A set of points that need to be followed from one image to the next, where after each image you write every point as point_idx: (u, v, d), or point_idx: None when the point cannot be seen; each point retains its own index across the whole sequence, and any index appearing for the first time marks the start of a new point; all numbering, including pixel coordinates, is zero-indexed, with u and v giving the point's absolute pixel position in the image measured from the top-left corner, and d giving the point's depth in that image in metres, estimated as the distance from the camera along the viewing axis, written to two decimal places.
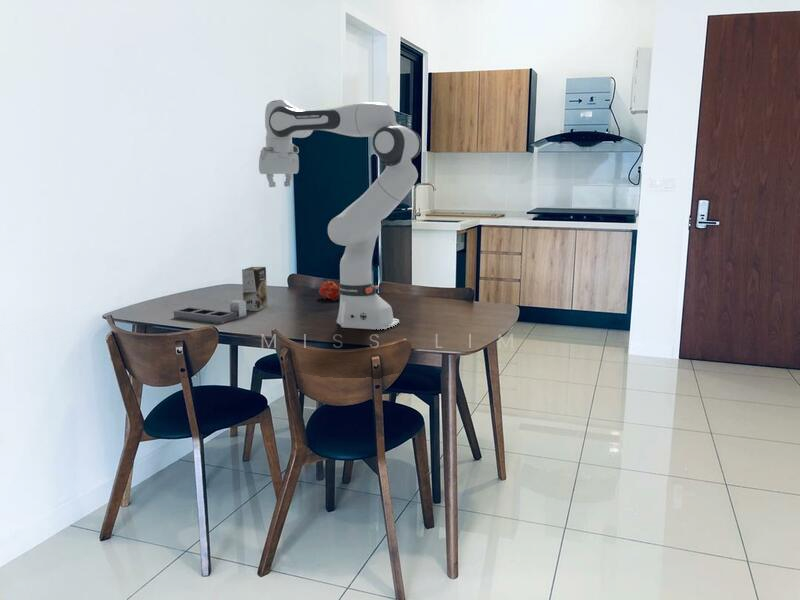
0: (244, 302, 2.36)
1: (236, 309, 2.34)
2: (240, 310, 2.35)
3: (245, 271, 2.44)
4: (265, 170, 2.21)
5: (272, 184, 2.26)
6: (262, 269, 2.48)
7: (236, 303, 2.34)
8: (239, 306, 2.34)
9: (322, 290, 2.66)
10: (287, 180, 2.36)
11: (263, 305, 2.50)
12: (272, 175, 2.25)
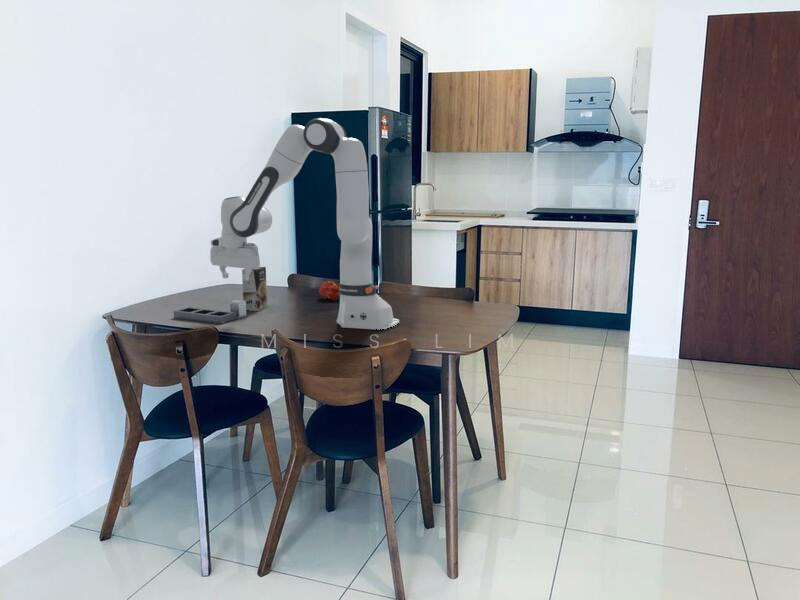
0: (244, 302, 2.36)
1: (236, 309, 2.34)
2: (240, 310, 2.35)
3: (245, 271, 2.44)
4: (259, 265, 2.30)
5: (248, 277, 2.32)
6: (262, 269, 2.48)
7: (236, 303, 2.34)
8: (239, 306, 2.34)
9: (322, 290, 2.66)
10: (224, 272, 2.36)
11: (263, 305, 2.50)
12: None
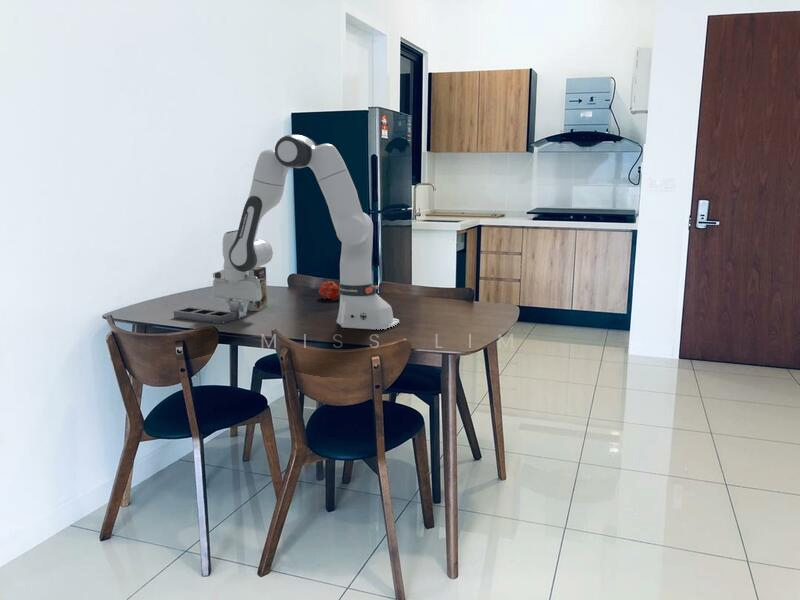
0: None
1: (236, 309, 2.34)
2: (240, 309, 2.35)
3: None
4: (261, 297, 2.32)
5: (246, 308, 2.35)
6: (262, 269, 2.48)
7: (236, 303, 2.34)
8: (239, 306, 2.34)
9: (322, 290, 2.66)
10: None
11: (263, 305, 2.50)
12: None
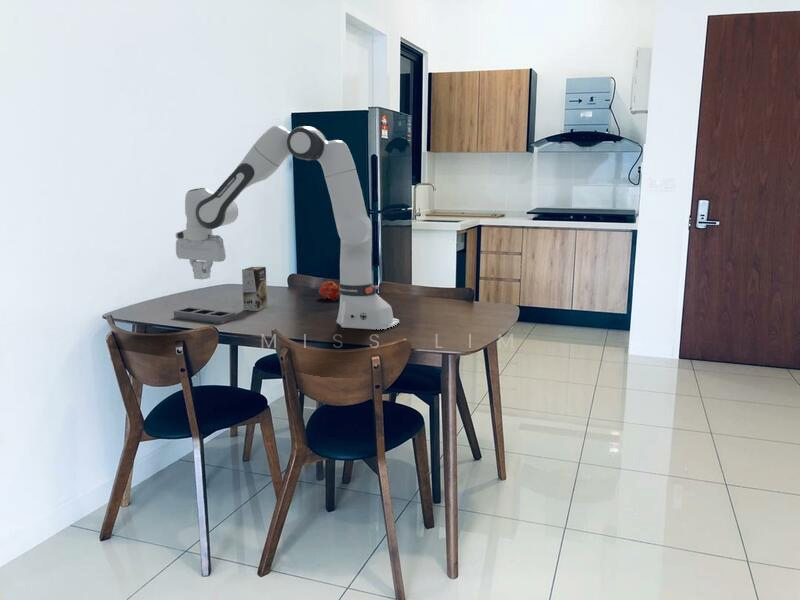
0: None
1: (200, 270, 2.28)
2: (203, 271, 2.28)
3: (245, 271, 2.44)
4: (224, 257, 2.26)
5: (210, 270, 2.29)
6: (262, 269, 2.48)
7: (199, 264, 2.27)
8: (202, 267, 2.28)
9: (322, 290, 2.66)
10: None
11: (263, 305, 2.50)
12: None
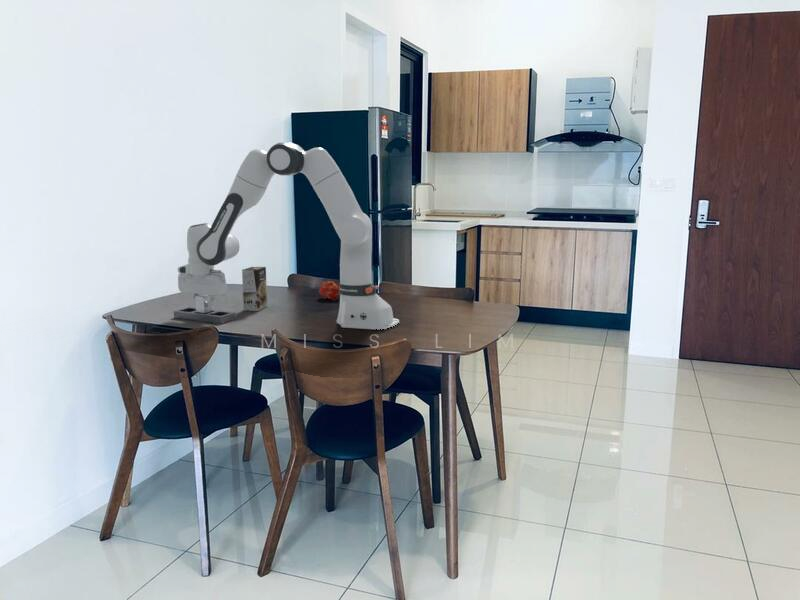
0: None
1: (202, 304, 2.30)
2: (205, 305, 2.31)
3: (245, 271, 2.44)
4: (226, 292, 2.28)
5: (211, 304, 2.32)
6: (262, 269, 2.48)
7: (201, 298, 2.30)
8: (204, 301, 2.30)
9: (322, 290, 2.66)
10: None
11: (263, 305, 2.50)
12: None
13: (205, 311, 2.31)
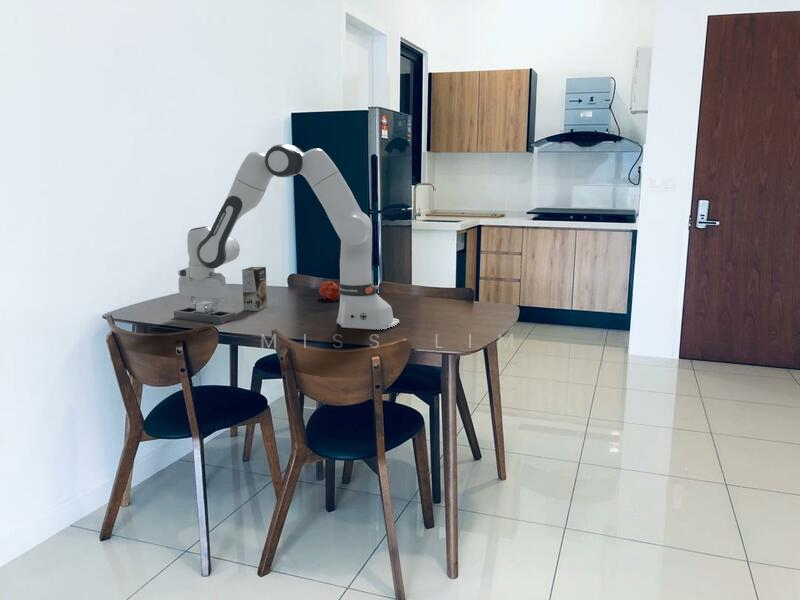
0: (210, 304, 2.33)
1: (202, 311, 2.31)
2: (206, 312, 2.31)
3: (245, 271, 2.44)
4: (227, 295, 2.29)
5: (216, 307, 2.31)
6: (262, 269, 2.48)
7: (202, 305, 2.30)
8: (205, 308, 2.31)
9: (322, 290, 2.66)
10: (193, 302, 2.35)
11: (263, 305, 2.50)
12: None
13: None
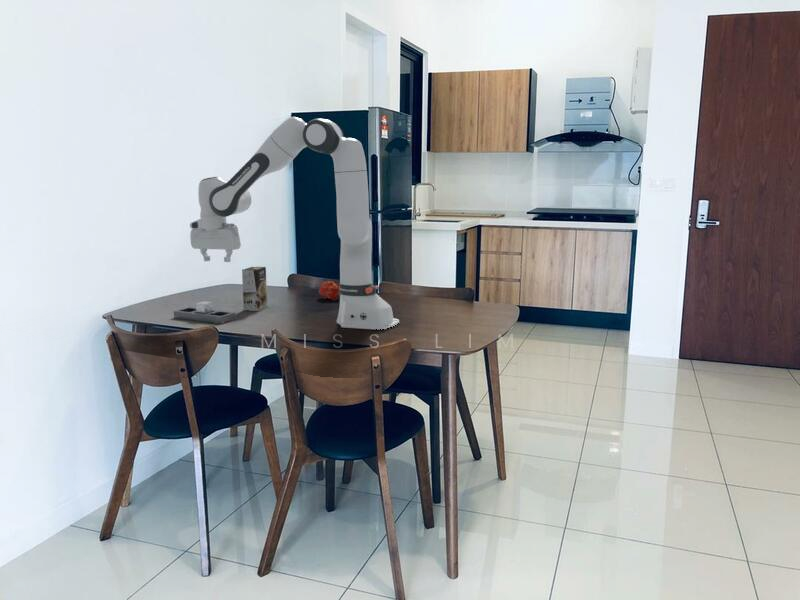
0: (210, 304, 2.33)
1: (202, 311, 2.31)
2: (206, 312, 2.31)
3: (245, 271, 2.44)
4: (240, 245, 2.27)
5: (229, 259, 2.29)
6: (262, 269, 2.48)
7: (202, 305, 2.30)
8: (205, 308, 2.31)
9: (322, 290, 2.66)
10: (205, 255, 2.33)
11: (263, 305, 2.50)
12: None
13: None
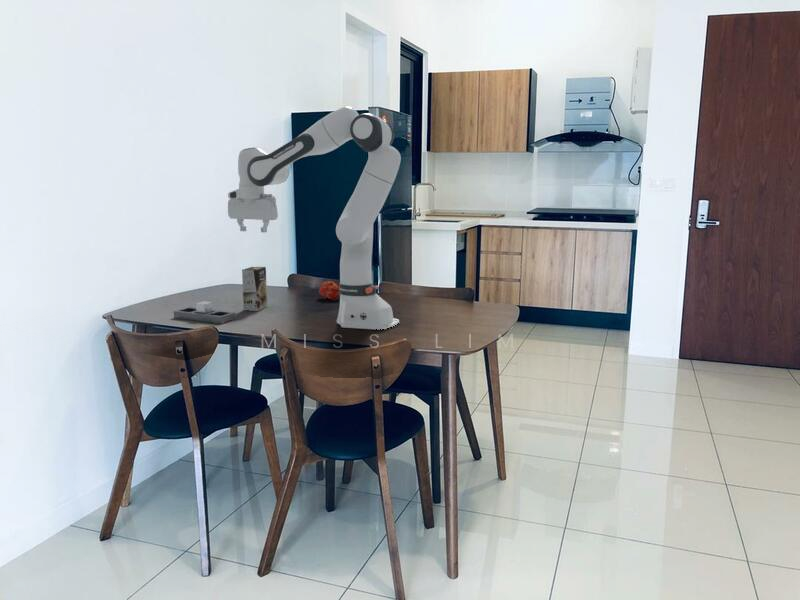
0: (210, 304, 2.33)
1: (202, 311, 2.31)
2: (206, 312, 2.31)
3: (245, 271, 2.44)
4: (277, 216, 2.30)
5: (266, 229, 2.32)
6: (262, 269, 2.48)
7: (202, 305, 2.30)
8: (205, 308, 2.31)
9: (322, 290, 2.66)
10: (242, 225, 2.36)
11: (263, 305, 2.50)
12: None
13: None
